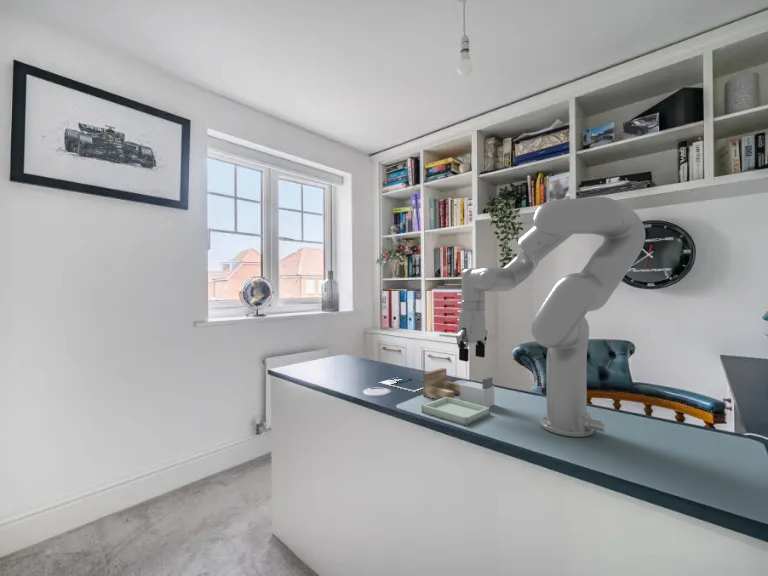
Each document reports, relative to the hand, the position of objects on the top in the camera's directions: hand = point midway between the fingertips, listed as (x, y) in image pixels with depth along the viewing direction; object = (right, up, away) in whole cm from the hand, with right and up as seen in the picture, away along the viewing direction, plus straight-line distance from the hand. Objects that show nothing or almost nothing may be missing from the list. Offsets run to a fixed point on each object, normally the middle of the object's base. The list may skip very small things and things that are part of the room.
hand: (472, 358), depth 119 cm
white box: (+1, -14, -1) cm, 15 cm away
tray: (-7, -14, -10) cm, 19 cm away
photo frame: (-19, -15, +23) cm, 34 cm away
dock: (-7, -14, +7) cm, 17 cm away
